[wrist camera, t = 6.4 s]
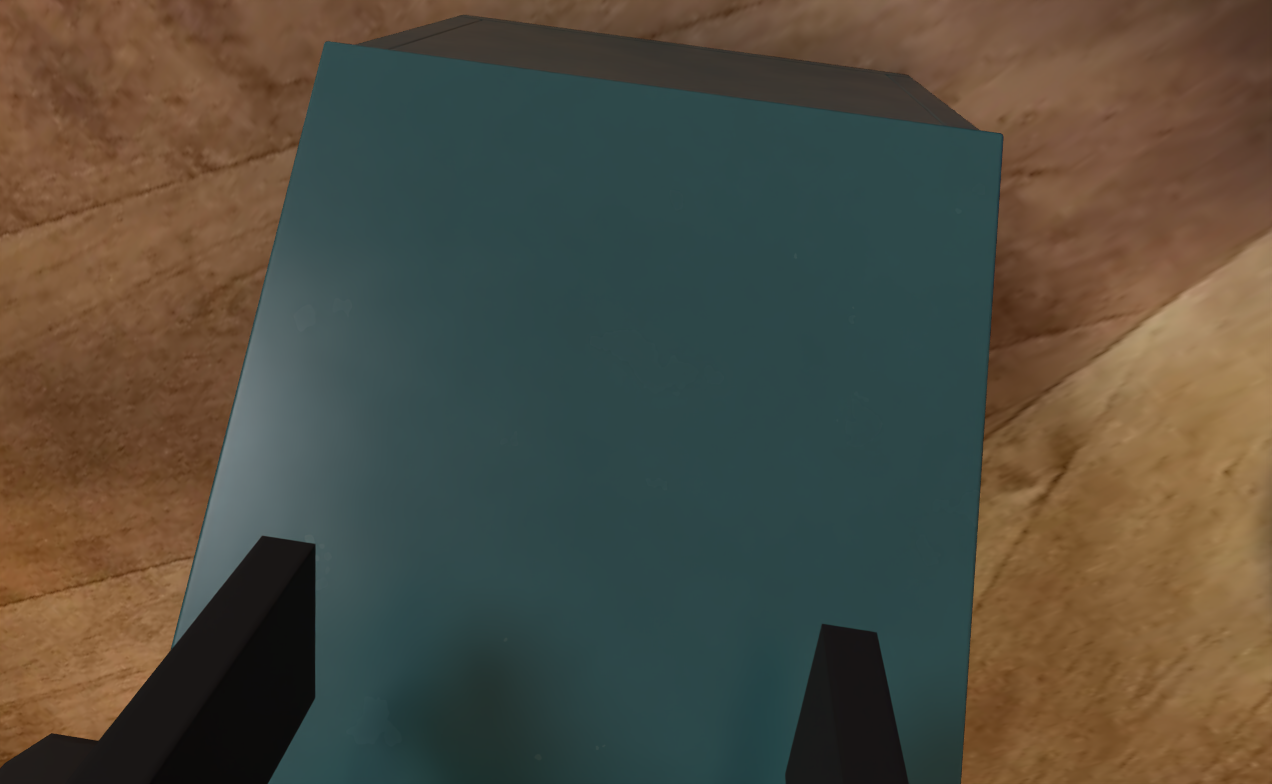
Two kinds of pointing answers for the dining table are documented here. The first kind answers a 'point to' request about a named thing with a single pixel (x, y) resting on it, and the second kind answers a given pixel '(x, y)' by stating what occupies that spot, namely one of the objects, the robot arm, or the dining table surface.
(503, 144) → the lid
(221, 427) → the dining table surface
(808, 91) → the bin
